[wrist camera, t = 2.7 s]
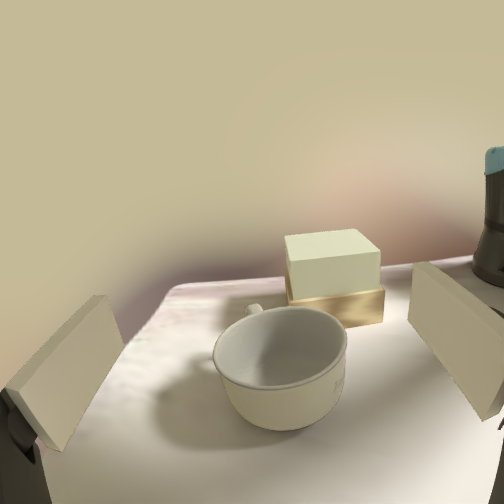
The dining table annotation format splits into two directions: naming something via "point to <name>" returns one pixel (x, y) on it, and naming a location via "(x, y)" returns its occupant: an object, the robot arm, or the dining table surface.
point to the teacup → (282, 365)
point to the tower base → (345, 305)
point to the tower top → (331, 263)
